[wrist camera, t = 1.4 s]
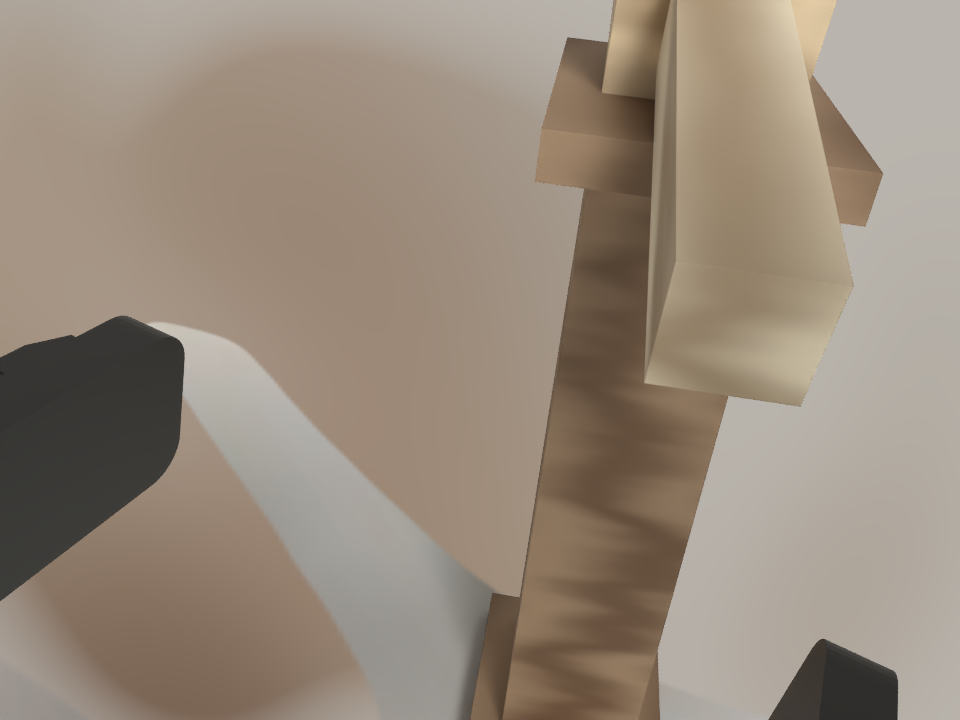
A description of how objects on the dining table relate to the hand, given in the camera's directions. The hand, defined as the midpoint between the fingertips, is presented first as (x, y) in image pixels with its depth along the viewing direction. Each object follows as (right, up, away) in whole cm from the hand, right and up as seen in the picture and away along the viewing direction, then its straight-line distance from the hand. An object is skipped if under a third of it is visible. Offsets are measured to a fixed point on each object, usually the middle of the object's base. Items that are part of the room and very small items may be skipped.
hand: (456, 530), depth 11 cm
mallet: (+7, +8, +15) cm, 18 cm away
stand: (+4, -16, +35) cm, 38 cm away
